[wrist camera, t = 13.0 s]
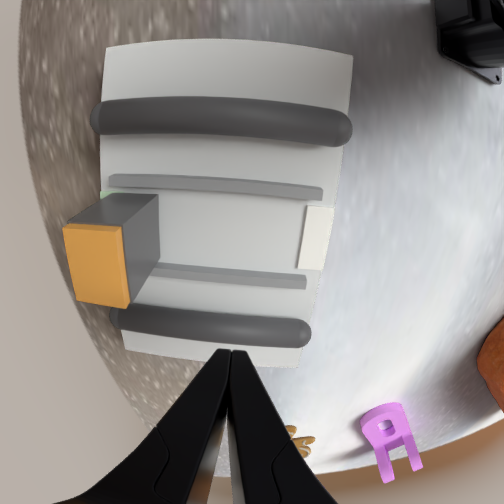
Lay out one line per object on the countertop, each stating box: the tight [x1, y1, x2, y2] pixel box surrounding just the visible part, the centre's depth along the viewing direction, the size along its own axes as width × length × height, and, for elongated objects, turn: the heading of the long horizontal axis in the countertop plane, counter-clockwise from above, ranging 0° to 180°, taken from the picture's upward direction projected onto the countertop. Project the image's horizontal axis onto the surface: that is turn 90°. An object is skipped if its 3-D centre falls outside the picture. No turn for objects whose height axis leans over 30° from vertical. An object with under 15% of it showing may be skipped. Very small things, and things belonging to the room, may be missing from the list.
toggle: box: [62, 193, 160, 309], centre depth 14 cm, size 3×4×6 cm
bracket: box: [360, 403, 423, 483], centre depth 27 cm, size 13×6×7 cm, turn 31°
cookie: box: [285, 425, 315, 459], centre depth 31 cm, size 8×1×10 cm
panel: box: [90, 39, 353, 368], centre depth 17 cm, size 14×22×4 cm, turn 175°
